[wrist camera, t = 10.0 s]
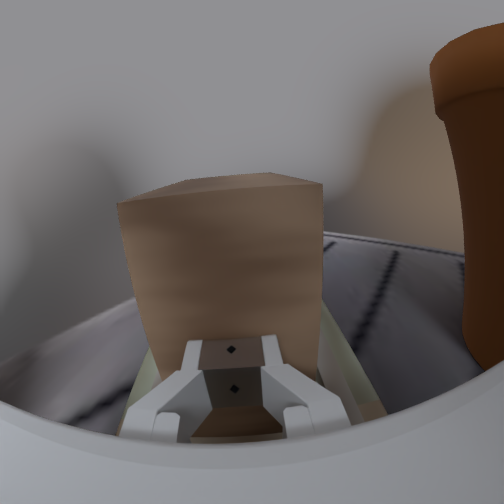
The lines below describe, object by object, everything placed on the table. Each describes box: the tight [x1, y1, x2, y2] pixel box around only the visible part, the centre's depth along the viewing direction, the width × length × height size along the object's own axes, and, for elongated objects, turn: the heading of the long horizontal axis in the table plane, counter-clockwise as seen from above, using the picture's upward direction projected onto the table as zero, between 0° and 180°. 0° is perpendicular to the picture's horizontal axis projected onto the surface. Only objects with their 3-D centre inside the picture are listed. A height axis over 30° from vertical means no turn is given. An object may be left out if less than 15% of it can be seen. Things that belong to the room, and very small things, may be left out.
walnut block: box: [117, 173, 323, 437], centre depth 15 cm, size 6×12×11 cm, turn 3°
